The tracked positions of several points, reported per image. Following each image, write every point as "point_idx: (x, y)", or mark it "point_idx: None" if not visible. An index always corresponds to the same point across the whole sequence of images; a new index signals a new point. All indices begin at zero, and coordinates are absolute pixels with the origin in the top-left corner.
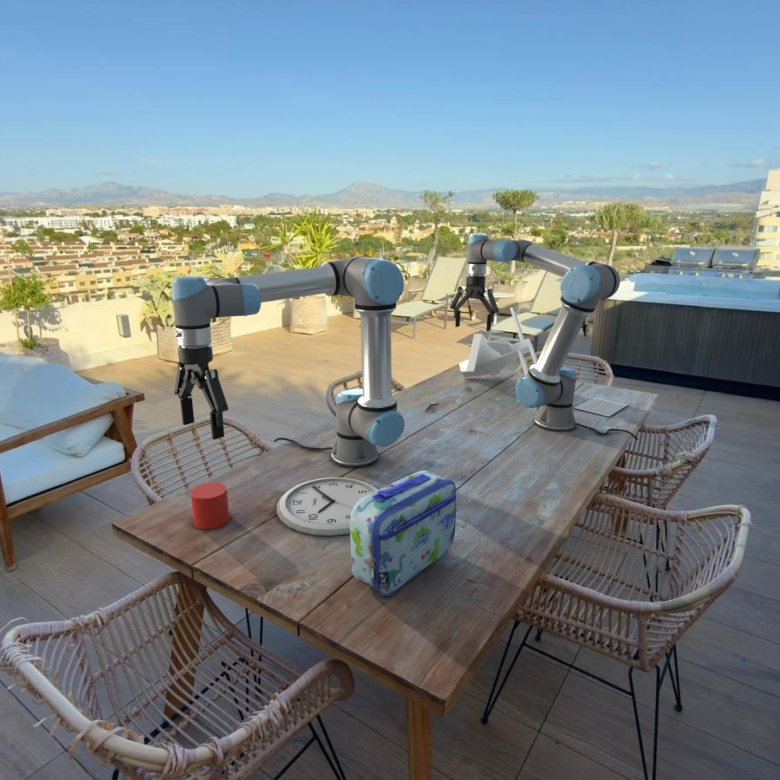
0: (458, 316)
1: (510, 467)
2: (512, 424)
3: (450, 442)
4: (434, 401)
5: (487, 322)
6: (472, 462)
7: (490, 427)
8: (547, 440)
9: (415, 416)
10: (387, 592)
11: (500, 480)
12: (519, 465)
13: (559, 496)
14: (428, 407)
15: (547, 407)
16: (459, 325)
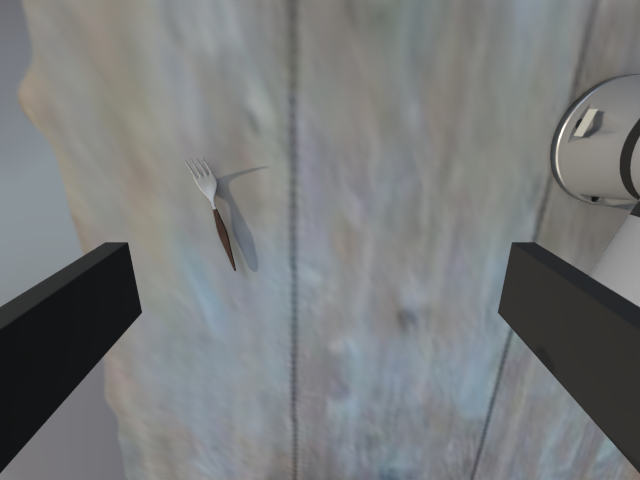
0: (51, 376)
1: (527, 428)
2: (489, 217)
3: (384, 393)
4: (204, 177)
5: (565, 378)
6: (456, 443)
7: (438, 271)
8: None
9: (231, 308)
10: None
11: (519, 471)
12: (543, 414)
13: (617, 470)
14: (226, 245)
15: (637, 200)
16: (124, 254)
